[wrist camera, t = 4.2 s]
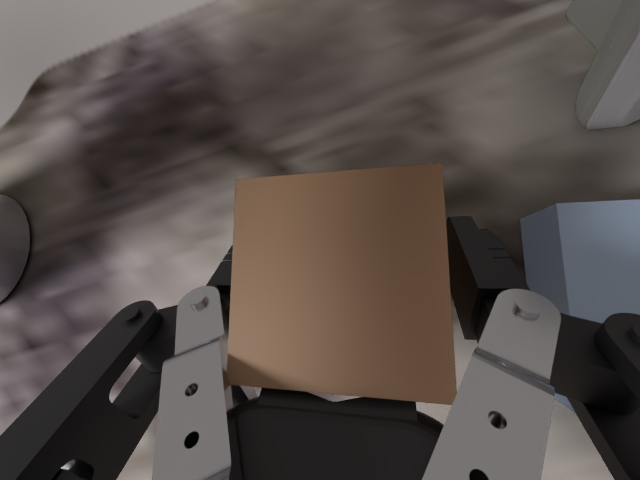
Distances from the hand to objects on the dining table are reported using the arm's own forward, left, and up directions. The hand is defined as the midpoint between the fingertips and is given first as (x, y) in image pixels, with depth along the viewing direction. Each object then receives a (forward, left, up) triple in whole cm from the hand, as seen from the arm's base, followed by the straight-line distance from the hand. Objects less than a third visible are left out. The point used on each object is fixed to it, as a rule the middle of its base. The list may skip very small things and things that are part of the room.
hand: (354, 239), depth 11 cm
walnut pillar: (0, -2, -5) cm, 5 cm away
